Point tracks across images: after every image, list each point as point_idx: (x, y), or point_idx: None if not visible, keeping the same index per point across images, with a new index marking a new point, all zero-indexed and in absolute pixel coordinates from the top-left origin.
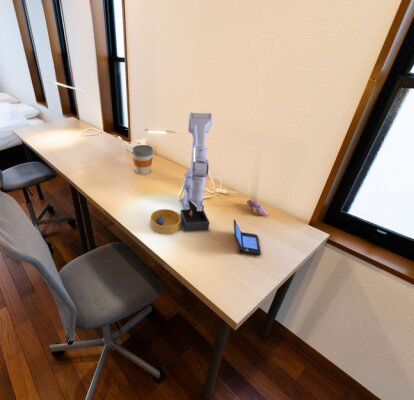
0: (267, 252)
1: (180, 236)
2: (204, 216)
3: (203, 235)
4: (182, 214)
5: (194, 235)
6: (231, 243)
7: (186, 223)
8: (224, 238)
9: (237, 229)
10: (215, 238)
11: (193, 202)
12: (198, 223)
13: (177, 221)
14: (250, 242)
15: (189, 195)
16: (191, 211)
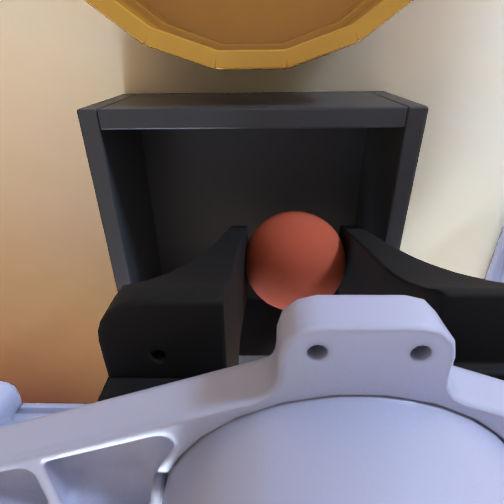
0: None
1: (29, 26)
2: (261, 341)
3: (90, 256)
4: (297, 108)
5: (76, 183)
6: (37, 393)
7: (80, 125)
8: (80, 373)
9: None
10: (68, 325)
11: (95, 442)
12: (115, 266)
13: (293, 36)
14: None
15: (434, 482)
16: (301, 248)
